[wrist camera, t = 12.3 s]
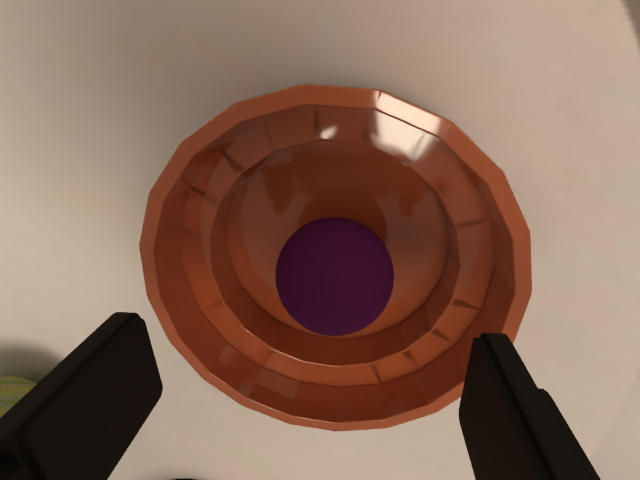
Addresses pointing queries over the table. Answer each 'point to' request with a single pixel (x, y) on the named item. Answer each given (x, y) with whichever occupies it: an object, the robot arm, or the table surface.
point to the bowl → (321, 202)
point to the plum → (334, 276)
